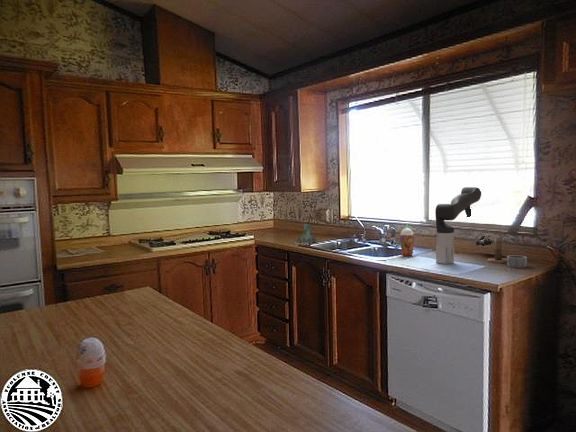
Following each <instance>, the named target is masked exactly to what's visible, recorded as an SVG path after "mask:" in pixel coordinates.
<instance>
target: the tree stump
mask: <svg viewBox="0 0 576 432" xmlns="http://www.w3.org/2000/svg"><path fill="white" fill-rule="evenodd" d="M312 229H313V228H312V224H309V223H304V224H303V230H302V232H301V234H300V236H299V237H298V238H297V239H295V241H296V242H298V243H313V242H314V243H315V242H317V240H318V239H317V238H316V237H314V235H313V230H312ZM314 243H313V244H314Z"/></svg>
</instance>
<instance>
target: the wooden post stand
mask: <svg viewBox="0 0 576 432" xmlns="http://www.w3.org/2000/svg"><path fill="white" fill-rule="evenodd" d="M494 240H495V246H494V257H490V258H487V260H486V261H487V262H488V263H493V264H507V258H505V257H503V255H502V254H503V251H502V250H503V247H502V245H503V238H502V237H498V236H497V237H494Z"/></svg>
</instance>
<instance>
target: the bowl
mask: <svg viewBox="0 0 576 432" xmlns="http://www.w3.org/2000/svg"><path fill="white" fill-rule="evenodd" d="M506 259H507V263H506V265H507V267H509V268H519V269H522V268H527V266H528V257H527V256H525V255H518V254H517V255H512V254H511V255H506Z"/></svg>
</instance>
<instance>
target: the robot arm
mask: <svg viewBox="0 0 576 432" xmlns="http://www.w3.org/2000/svg"><path fill="white" fill-rule="evenodd" d="M480 190H481V189H480V188H478V187H475V186H474V187H473V186H471V187H469V186H467V187H463V188H462V189H461V191H460V194H457V195H456V196H454V197H453V198H452V199H451V201H450V203H438V204H437V205H436V206H435V227H436V228H435V229H436V245H435V263H436V264H443V265H450V264H455V227H453V226H451V225H449V224H447V223H446V221H454V220H455V219H457V217H458V216H459V215H460V214H461V213H462V212H465V216H466V215H467V216H466V218H467V217H470V216H471V209H470V206H472V205H473V204H475V203H478V202H479V201H480V200H481V197H482V192H481V191H480ZM484 237H485V236H481V237H479V239H478V241H477V240H475V244H474V245H475V246H477V247H481V246H486V245H491V243H492V241H493V242H495V239H492V238H491V239H488V241H487V240H486V239H484ZM479 245H480V246H479Z"/></svg>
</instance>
